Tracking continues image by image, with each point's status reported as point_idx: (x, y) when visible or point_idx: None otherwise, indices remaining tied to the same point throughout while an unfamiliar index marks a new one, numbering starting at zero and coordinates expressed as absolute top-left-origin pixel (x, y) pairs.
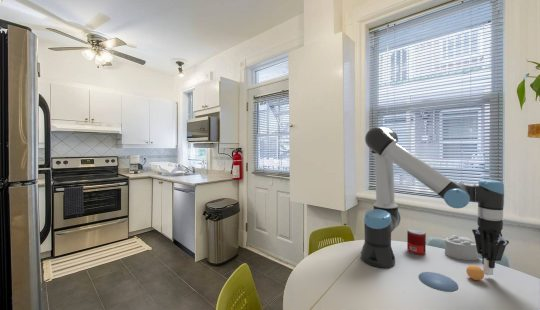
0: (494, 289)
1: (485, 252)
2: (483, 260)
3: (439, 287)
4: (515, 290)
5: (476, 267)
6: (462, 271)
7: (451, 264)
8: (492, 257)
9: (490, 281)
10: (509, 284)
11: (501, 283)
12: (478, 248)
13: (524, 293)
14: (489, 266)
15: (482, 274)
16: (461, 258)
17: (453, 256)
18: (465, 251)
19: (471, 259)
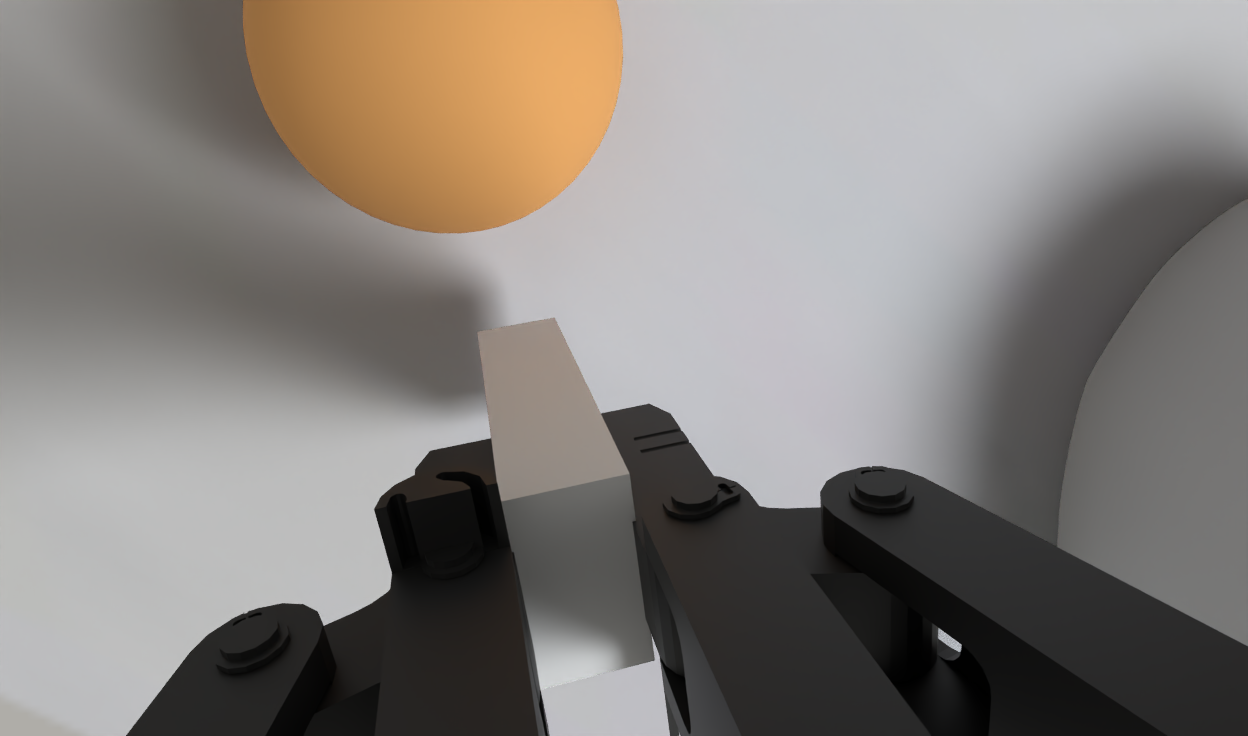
0: (72, 172)
1: (689, 658)
2: (656, 453)
3: None
4: (132, 527)
5: (375, 27)
6: (738, 31)
7: (997, 8)
8: (379, 686)
9: (392, 316)
10: (330, 559)
11: (345, 457)
12: (991, 582)
13: (57, 599)
14: (471, 453)
15: (265, 108)
16: (1120, 351)
17: (1204, 252)
18: (1227, 468)
19: (1067, 497)
